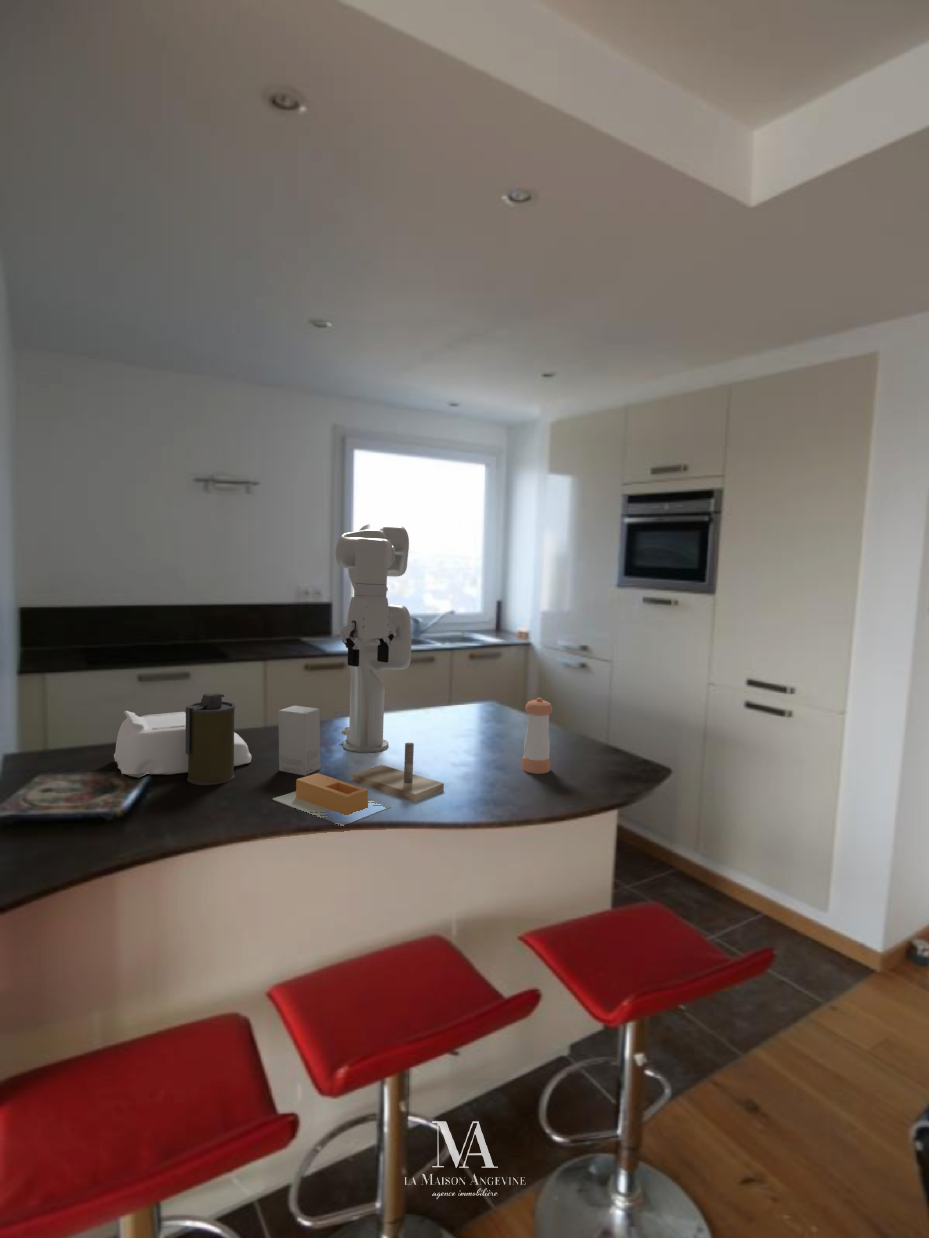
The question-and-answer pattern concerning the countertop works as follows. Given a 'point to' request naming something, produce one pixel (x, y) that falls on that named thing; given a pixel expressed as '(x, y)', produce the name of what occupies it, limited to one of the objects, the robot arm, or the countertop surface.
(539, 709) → the pepper shaker
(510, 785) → the countertop surface
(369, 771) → the peg base
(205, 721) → the canister
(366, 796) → the link
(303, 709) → the skincare box
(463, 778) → the countertop surface
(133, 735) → the white toaster
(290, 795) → the mat
